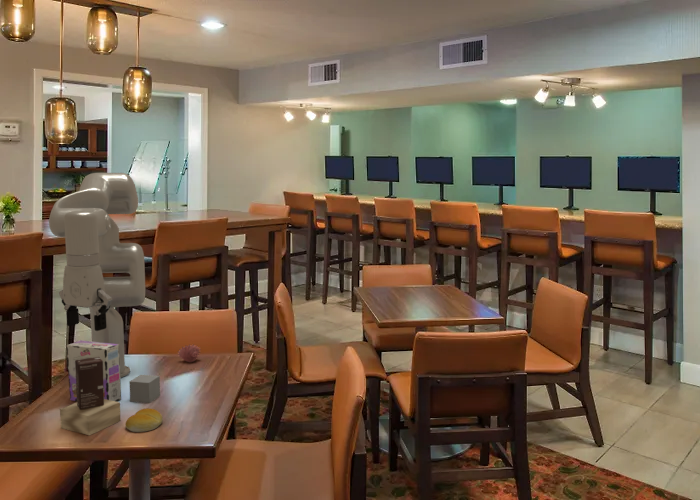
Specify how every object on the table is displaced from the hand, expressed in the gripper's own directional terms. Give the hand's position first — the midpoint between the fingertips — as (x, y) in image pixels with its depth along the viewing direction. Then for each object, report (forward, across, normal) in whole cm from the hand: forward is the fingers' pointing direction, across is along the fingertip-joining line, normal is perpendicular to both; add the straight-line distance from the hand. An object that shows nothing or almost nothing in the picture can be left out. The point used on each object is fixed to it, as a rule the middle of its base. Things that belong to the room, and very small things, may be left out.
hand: (86, 327), depth 153 cm
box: (+21, +1, -1) cm, 21 cm away
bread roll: (+26, +13, +5) cm, 30 cm away
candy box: (+26, -12, +12) cm, 31 cm away
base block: (+26, +1, -1) cm, 26 cm away
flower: (+27, -12, +52) cm, 60 cm away
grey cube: (+26, 0, +19) cm, 32 cm away
